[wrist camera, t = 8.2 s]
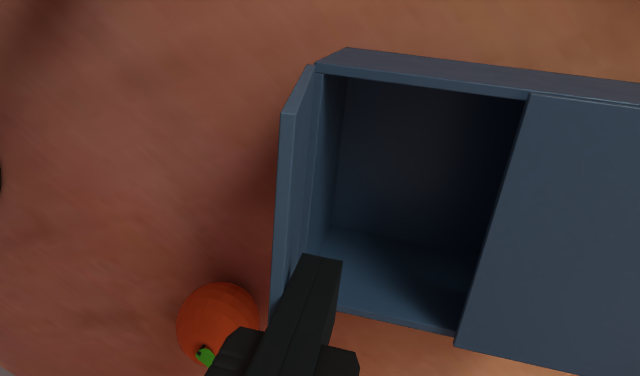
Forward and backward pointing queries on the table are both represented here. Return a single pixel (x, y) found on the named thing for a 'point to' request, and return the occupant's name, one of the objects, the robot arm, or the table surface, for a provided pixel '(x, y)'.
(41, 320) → the table surface
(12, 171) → the table surface
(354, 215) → the carton
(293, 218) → the flap
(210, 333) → the clementine
